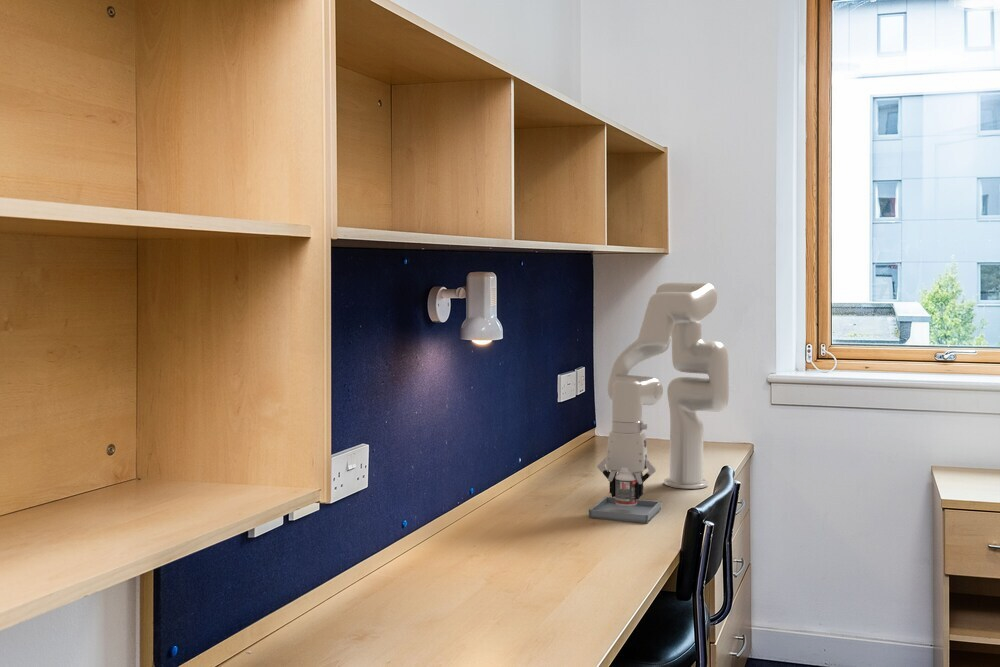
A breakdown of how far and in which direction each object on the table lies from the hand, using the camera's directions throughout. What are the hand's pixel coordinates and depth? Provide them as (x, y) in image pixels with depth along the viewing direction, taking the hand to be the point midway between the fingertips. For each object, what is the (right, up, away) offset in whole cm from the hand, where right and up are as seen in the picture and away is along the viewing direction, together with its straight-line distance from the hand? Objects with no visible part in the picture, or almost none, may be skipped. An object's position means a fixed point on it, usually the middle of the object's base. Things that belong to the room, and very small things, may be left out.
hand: (626, 496), depth 249 cm
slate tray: (0, -4, 0) cm, 4 cm away
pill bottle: (0, -2, 0) cm, 2 cm away
